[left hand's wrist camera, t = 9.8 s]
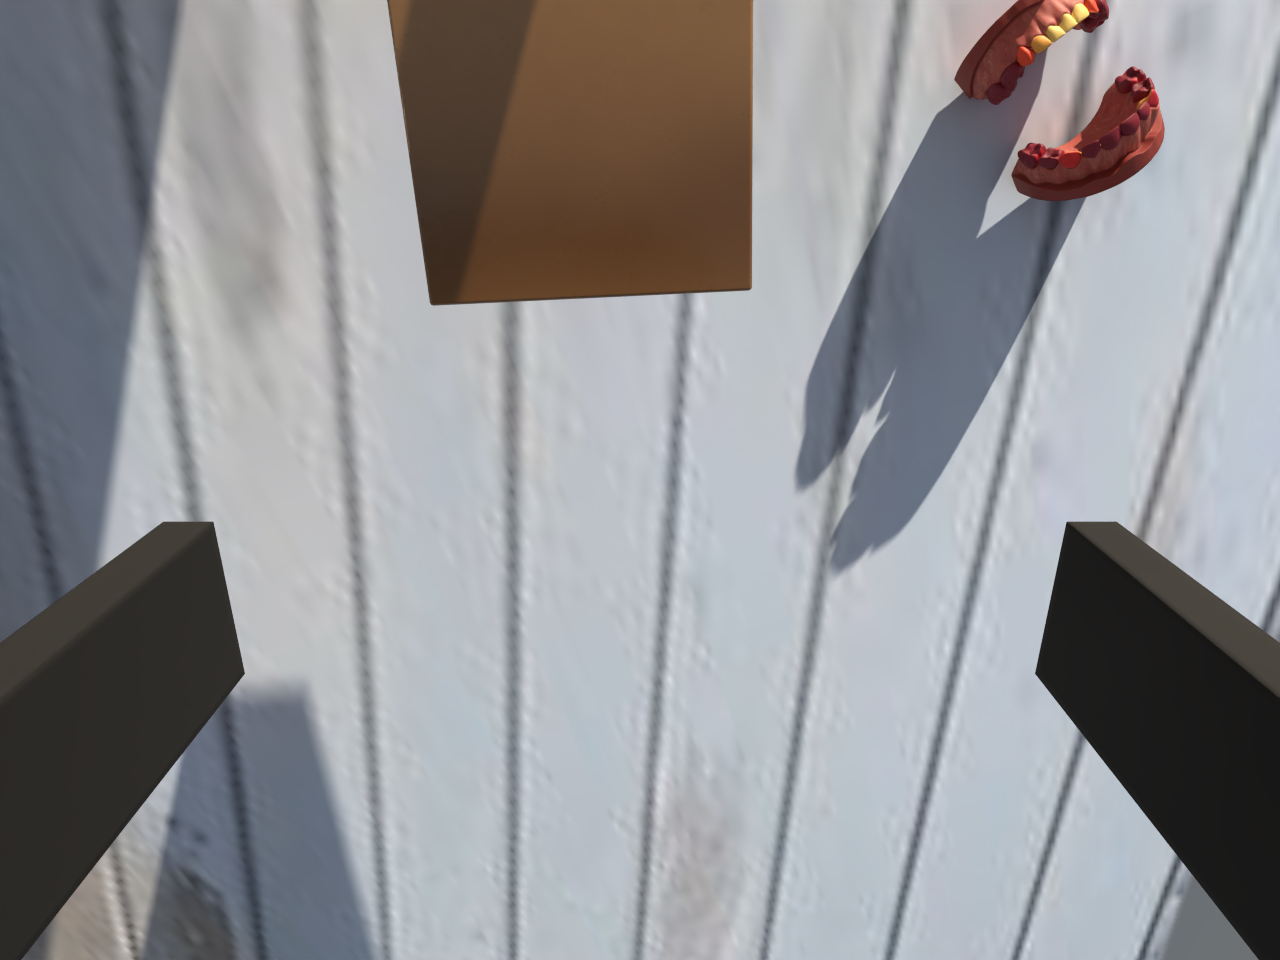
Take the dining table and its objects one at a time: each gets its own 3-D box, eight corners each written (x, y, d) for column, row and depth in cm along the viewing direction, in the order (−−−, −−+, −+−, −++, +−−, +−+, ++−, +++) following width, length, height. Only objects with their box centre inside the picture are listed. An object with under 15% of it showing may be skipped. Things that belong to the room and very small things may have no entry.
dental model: (1118, -75, 27) (1214, 127, 30) (1061, -49, 31) (1150, 128, 34) (970, 40, 29) (1073, 224, 31) (934, 51, 33) (1028, 215, 35)
